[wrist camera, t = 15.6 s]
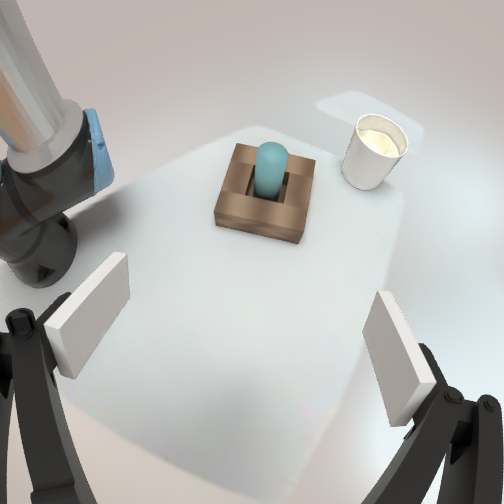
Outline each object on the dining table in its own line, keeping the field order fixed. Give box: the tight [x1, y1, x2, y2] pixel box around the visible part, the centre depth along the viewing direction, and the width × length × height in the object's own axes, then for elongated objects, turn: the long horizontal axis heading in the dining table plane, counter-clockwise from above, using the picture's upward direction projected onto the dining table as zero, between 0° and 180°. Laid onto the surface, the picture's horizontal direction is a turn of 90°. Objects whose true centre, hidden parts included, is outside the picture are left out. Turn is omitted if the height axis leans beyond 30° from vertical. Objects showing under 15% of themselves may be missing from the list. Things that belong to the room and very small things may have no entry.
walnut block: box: [214, 143, 316, 244], centre depth 53 cm, size 14×14×5 cm
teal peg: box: [253, 142, 288, 202], centre depth 49 cm, size 4×4×12 cm
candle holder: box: [342, 114, 408, 190], centre depth 53 cm, size 10×10×12 cm
